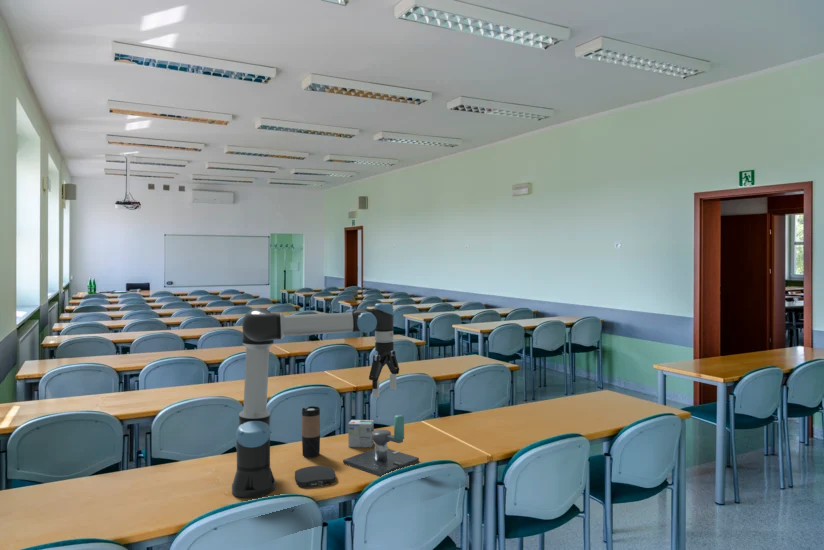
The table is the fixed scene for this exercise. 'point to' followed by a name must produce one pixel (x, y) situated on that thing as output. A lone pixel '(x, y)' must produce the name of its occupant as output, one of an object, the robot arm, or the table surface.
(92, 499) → the table surface
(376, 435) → the crank handle
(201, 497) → the table surface
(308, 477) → the media streaming box
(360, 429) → the light bulb box
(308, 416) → the travel mug
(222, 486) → the table surface
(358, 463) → the post base
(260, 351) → the robot arm
